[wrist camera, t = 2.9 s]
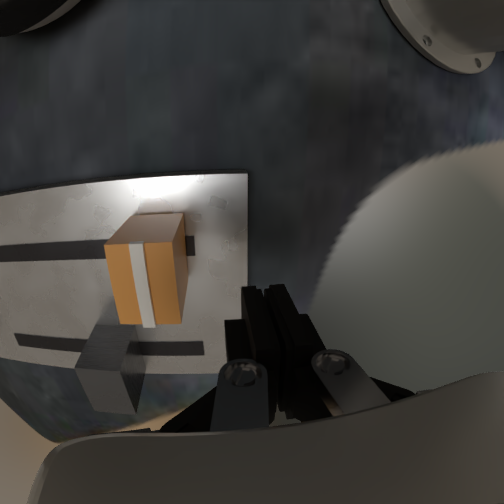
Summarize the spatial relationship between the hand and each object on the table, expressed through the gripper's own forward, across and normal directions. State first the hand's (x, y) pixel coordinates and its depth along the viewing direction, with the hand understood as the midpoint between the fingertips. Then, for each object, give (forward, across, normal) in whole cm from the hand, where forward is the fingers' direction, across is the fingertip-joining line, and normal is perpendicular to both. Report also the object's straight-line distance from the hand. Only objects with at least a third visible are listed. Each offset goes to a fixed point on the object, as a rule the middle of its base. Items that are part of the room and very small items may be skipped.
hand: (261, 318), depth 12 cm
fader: (+6, +5, -1) cm, 8 cm away
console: (+9, +14, +2) cm, 16 cm away
